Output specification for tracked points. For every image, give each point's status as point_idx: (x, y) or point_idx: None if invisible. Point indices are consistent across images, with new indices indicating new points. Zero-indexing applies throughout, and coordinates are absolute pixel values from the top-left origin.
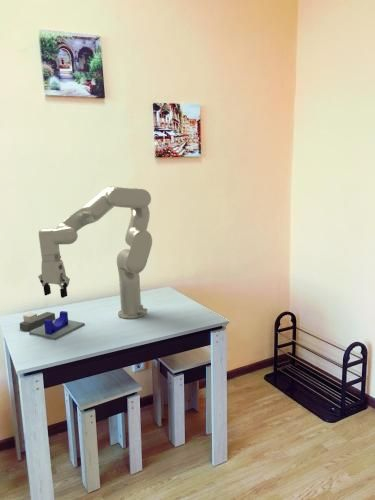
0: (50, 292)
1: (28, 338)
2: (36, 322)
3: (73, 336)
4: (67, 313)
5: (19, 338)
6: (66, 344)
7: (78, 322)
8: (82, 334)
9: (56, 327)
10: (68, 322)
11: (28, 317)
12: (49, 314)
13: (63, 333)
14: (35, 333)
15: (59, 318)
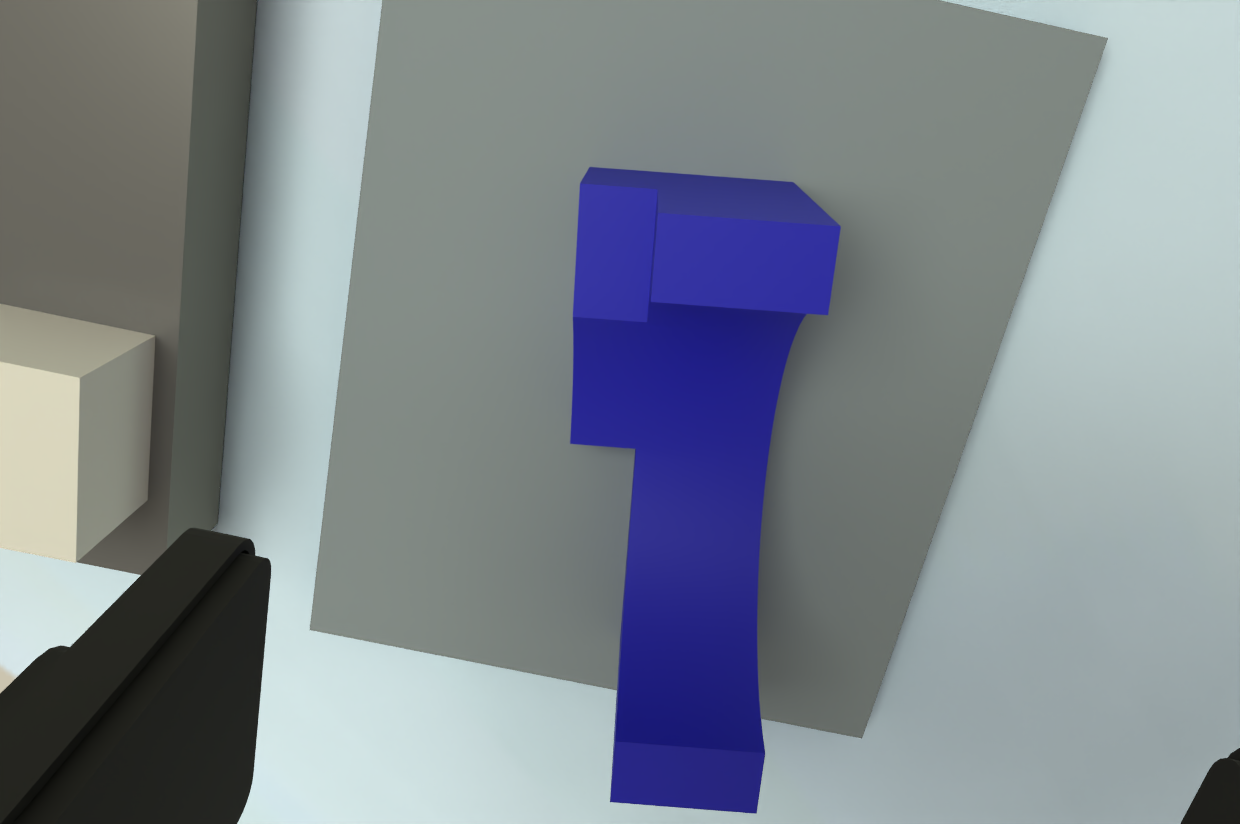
0: (249, 595)
1: (422, 731)
2: (187, 374)
3: (1084, 553)
4: (830, 219)
5: (294, 752)
6: (1097, 800)
7: (959, 38)
8: (1210, 457)
9: (756, 552)
10: (738, 84)
11: (52, 547)
12: None
13: (916, 578)
14: (451, 656)
15: (662, 315)
